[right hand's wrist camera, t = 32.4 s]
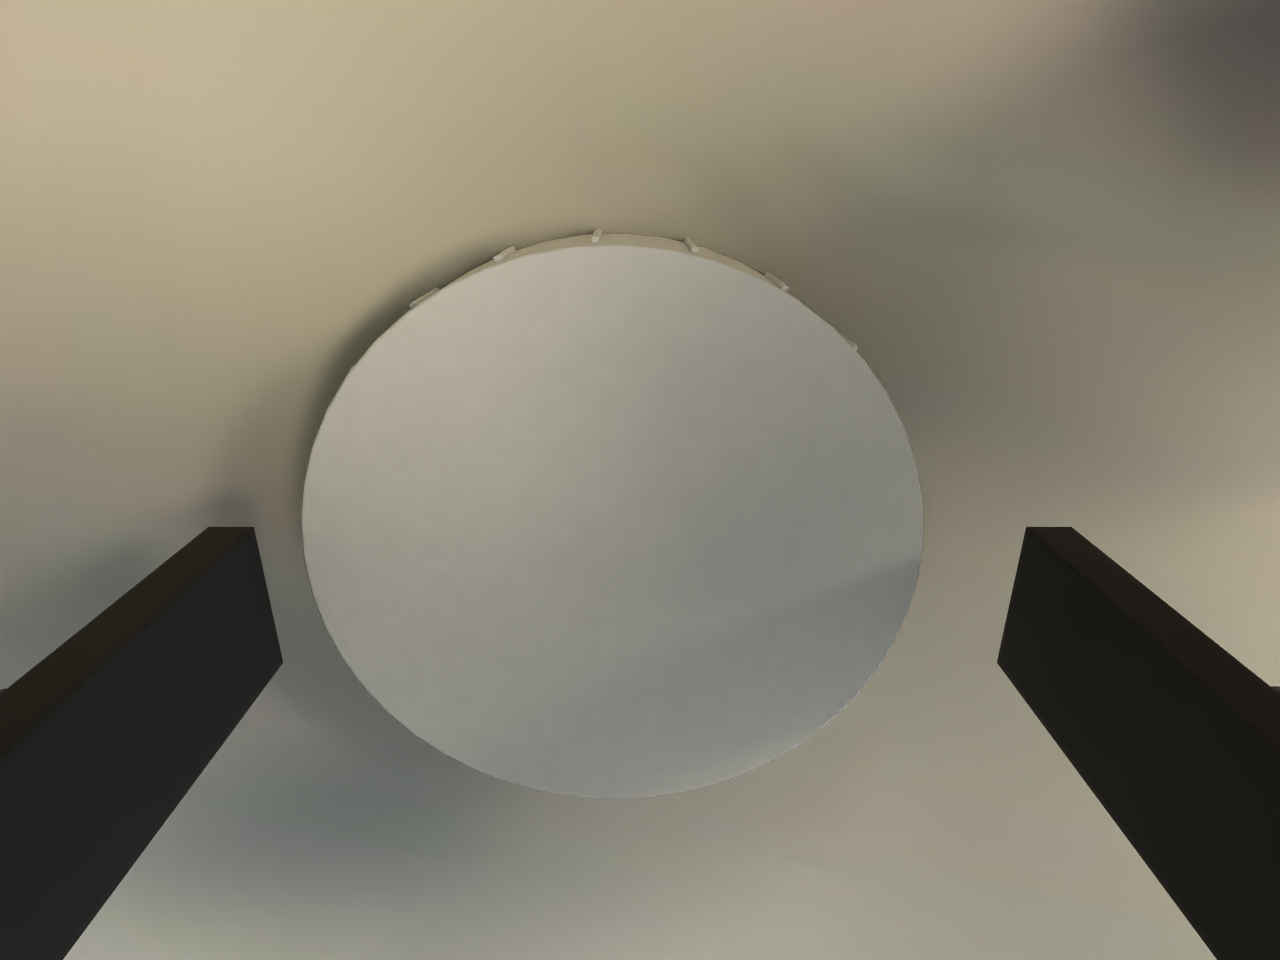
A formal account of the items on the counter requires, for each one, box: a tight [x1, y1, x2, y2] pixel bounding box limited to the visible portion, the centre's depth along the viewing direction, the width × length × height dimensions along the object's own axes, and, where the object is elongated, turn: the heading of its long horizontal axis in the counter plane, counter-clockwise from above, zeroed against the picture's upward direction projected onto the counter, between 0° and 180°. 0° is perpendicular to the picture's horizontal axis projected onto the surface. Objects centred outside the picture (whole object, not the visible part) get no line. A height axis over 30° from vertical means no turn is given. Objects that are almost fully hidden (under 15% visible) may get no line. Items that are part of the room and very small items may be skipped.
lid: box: [301, 229, 923, 798], centre depth 14 cm, size 11×11×2 cm
